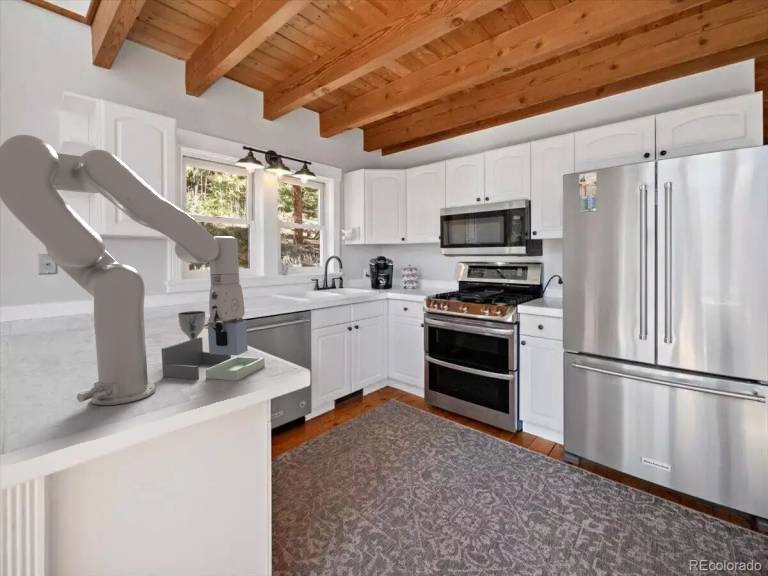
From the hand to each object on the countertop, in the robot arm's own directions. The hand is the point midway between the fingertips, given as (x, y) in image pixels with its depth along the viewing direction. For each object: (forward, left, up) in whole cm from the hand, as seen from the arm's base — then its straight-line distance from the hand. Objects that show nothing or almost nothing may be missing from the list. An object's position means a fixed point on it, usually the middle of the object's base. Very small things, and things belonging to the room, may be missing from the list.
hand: (228, 342), depth 105 cm
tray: (0, -2, -9) cm, 9 cm away
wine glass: (+11, +22, -9) cm, 26 cm away
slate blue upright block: (0, 0, -3) cm, 3 cm away
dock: (-1, +9, -9) cm, 13 cm away
